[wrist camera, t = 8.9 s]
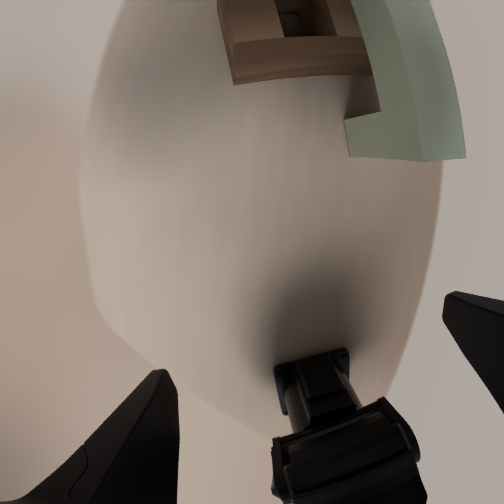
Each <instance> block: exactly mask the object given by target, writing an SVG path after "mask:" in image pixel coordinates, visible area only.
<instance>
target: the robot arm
mask: <svg viewBox="0 0 504 504" xmlns="http://www.w3.org/2000/svg"><path fill="white" fill-rule="evenodd" d="M442 318H443V322H444V323H445V325H446V327H447V328H448V330H449V331H450V333H451V335H452V336H453V338H454V339H455V341H456V343H457V344H458V346H459V348H460V349H461V351H462V352H463V354H464V356H465V357H466V359H467V360H468V361H469V363H470V364H471V365H472V367H473V368H474V370H475V371H476V372H477V374H478V375H479V377H480V378H481V380H482V381H483V382H484V384H485V385H486V387H487V388H488V390H489V391H490V393H491V394H492V396H493V397H494V399H495V401H496V402H497V404H498V405H499V407H500V408H501V410H502V411H503V413H504V301H502V300H497V299H492V298H488V297H483V296H477V295H473V294H468V293H463V292H459V291H454V292H451V293H449V294H447V295H446V296H445V300H444V307H443V314H442ZM343 353H344V354H343ZM342 354H343V355H342ZM279 370H282V371H280V372H278V371H279ZM273 372H274V377H275V382H276V386H277V391H278V395H279V400H280V405H281V409H282V413H283V415H289V418H290V422H291V426H292V430H293V434H290V435H287V436H283V437H276V438H273V439H272V440H273V447H272V448H271V449H272V451H271V456H272V464H273V479H272V487H271V490H272V494H273V495H274V496H276V497H278V498H280V499H281V501H282V502H283V503H284V504H426V502H427V493H426V490H425V488H424V486H423V483H422V481H421V478H420V474H419V471H418V468H417V464H416V463H417V462H419V460H420V449H419V445H418V442H417V440H416V437H415V435H414V433H413V431H412V429H411V428H410V426H409V425H408V424H407V422H406V421H405V420H404V419H403V417H402V416H401V415H400V414H399V413H398V412H397V411H396V410H395V409H394V407H393V406H392V405H391V404H390V403H389V402H388V401H387V399H386V398H385V397H384V396H383V397H381V398H379V399H377V401H375V402H373V403H371V404H369V405H367V406H364V407H363V406H362V404H361V403H360V401H359V399H358V397H357V395H356V393H355V391H354V389H353V387H352V386H351V384H350V382H349V351H348V350H347V349H346V348H341V349H338V350H334V351H331V352H328V353H324V354H320V355H317V356H313V357H309V358H306V359H302V360H298V361H294V362H290V363H286V364H281V365H278V366H276V367H274V369H273ZM179 445H180V431H179V413H178V393H177V389H176V387H175V385H174V383H173V381H172V379H171V377H170V375H169V373H168V371H167V370H166V369H158V370H153V371H151V372H150V373H149V375H148V376H147V377H146V378H145V379H144V380H143V381H142V382H141V383H140V384H139V385H138V386H137V387H136V388H135V390H133V392H132V393H131V394H130V395H129V396H128V397H127V398H126V399H125V400H124V401H123V402H122V403H121V404H120V405H119V406H118V408H117V409H116V410H115V411H114V412H113V413H112V414H111V415H110V416H109V417H108V418H107V419H106V420H105V421H104V422H103V423H102V424H101V425H100V427H99V428H98V429H97V430H96V431H95V432H94V433H93V434H92V435H91V436H90V437H89V438H88V439H87V440H86V441H85V442H84V445H81V446H80V447H79V448H78V449H77V450H76V451H75V453H74V454H73V455H71V457H69V459H67V460H66V461H65V462H64V463H63V464H62V465H61V466H60V467H59V468H58V469H57V470H55V471H54V472H53V473H52V474H51V475H50V476H49V477H47V478H46V479H45V480H44V481H43V482H41V483H40V484H39V485H37V486H36V487H35V488H34V489H33V490H31V491H30V492H29V493H28V494H26V495H25V496H23V497H21V498H19V499H17V500H13V501H6V502H0V504H177V484H178V462H179Z"/></svg>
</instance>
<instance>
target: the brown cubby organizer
mask: <svg viewBox="0 0 504 504" xmlns="http://www.w3.org/2000/svg"><path fill="white" fill-rule="evenodd" d="M217 11H218V15H219V20H220V24H221V29H222V33H223V38H224V42H225V47H226V51H227V56H228V61H229V65H230V70H231V75H232V79H233V84H234V85H239V84H245V83H251V82H258V81H265V80H273V79H282V78H292V77H304V76H319V75H346V74H369V75H373V72H372V68H371V64H370V60H369V56H368V53H367V49H366V46H365V42H364V39H363V36H362V32H361V29H360V26H359V23H358V20H357V17H356V14H355V11H354V9H353V6H352V3H351V0H217ZM280 14H297V16H298V20H299V23H300V27H301V30H302V34H303V37H284V34H283V30H282V27H281V23H280V19H279V16H278V15H280Z"/></svg>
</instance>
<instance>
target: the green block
mask: <svg viewBox="0 0 504 504" xmlns="http://www.w3.org/2000/svg"><path fill="white" fill-rule="evenodd" d="M351 3H352V6H353V9H354V11H355V14H356V17H357V20H358V23H359V26H360V29H361V32H362V36H363V39H364V42H365V46H366V49H367V53H368V56H369V60H370V64H371V68H372V72H373V76H374V80H375V84H376V88H377V93H378V98H379V103H380V108H381V112H377V113H372V114H367V115H363V116H359V117H354V118H350V119H346V120H344V124H345V129H346V135H347V141H348V147H349V153H350V156H354V157H372V158H387V159H399V160H410V161H420V162H427V161H438V160H449V159H461V158H466V151H465V142H464V134H463V127H462V119H461V113H460V107H459V102H458V97H457V92H456V87H455V83H454V79H453V75H452V70H451V67H450V63H449V59H448V56H447V52H446V49H445V46H444V42H443V39H442V36H441V33H440V30H439V27H438V25H437V22H436V19H435V17H434V14H433V11H432V9H431V6H430V4H429V2H428V0H351Z"/></svg>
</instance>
